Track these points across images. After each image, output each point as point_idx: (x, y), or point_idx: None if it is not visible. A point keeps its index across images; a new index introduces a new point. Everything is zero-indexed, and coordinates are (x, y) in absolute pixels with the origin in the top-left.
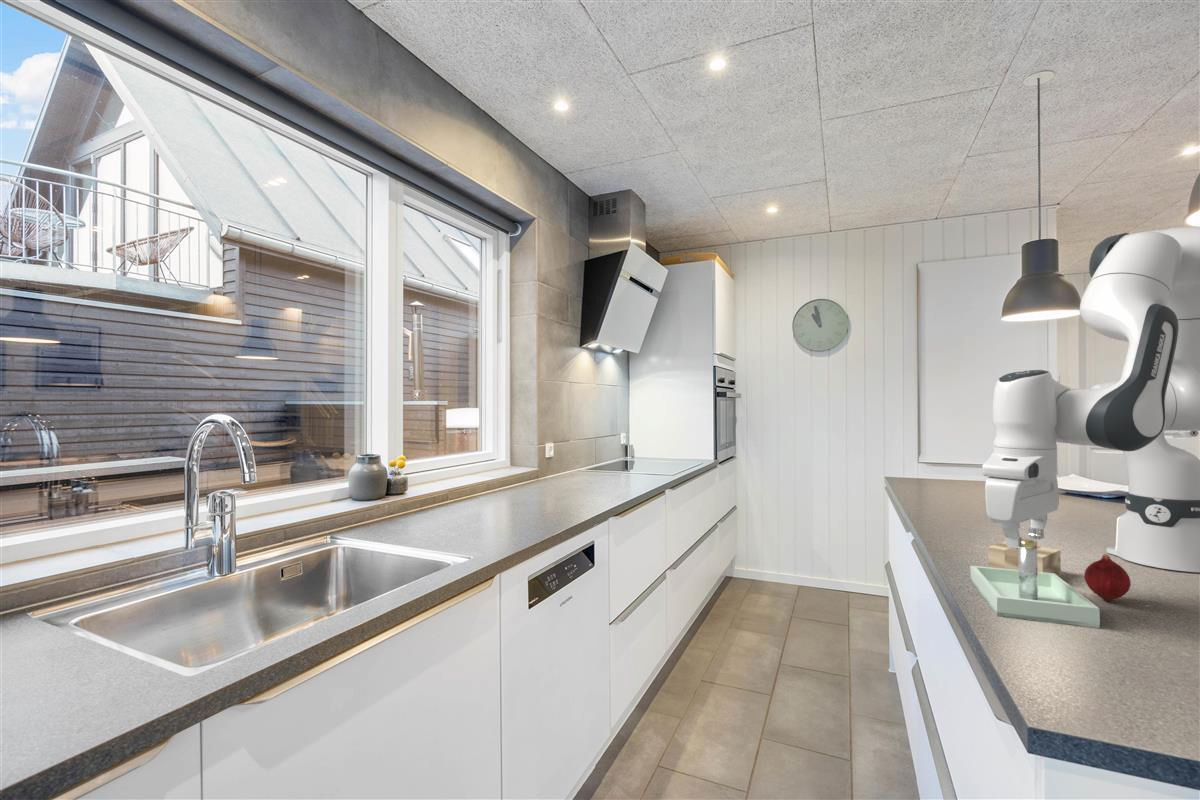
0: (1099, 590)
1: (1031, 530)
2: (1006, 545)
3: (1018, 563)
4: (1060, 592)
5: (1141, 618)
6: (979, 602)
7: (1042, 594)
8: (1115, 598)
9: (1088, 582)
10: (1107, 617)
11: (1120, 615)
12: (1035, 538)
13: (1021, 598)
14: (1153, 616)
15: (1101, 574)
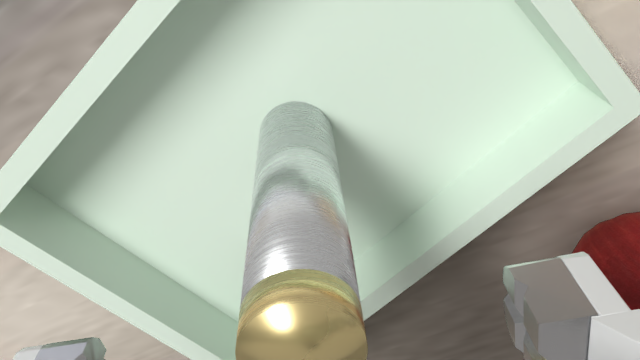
0: None
1: (530, 329)
2: (19, 352)
3: (266, 199)
4: (478, 171)
5: (484, 342)
6: (60, 42)
7: (417, 127)
8: None
9: (593, 248)
10: (396, 308)
11: (457, 312)
12: (509, 298)
13: (260, 127)
14: None
15: None
